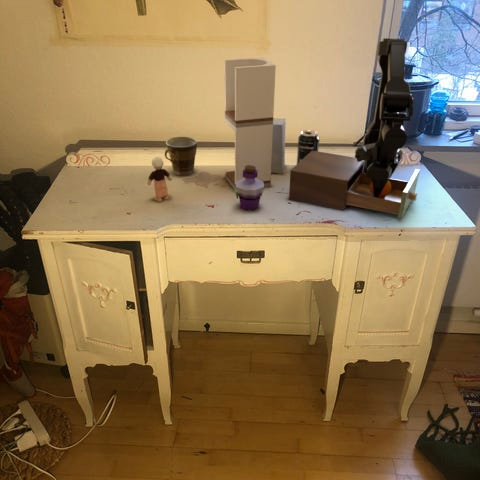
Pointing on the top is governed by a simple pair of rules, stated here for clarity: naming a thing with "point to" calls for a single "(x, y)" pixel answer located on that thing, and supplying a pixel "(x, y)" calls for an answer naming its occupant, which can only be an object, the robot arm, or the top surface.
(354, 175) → the cabinet
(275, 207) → the top surface
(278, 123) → the cosmetic box
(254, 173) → the potion bottle
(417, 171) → the drawer
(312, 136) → the beverage can
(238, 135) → the white tower
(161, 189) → the grandmother figurine
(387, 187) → the orange
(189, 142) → the ceramic cup
